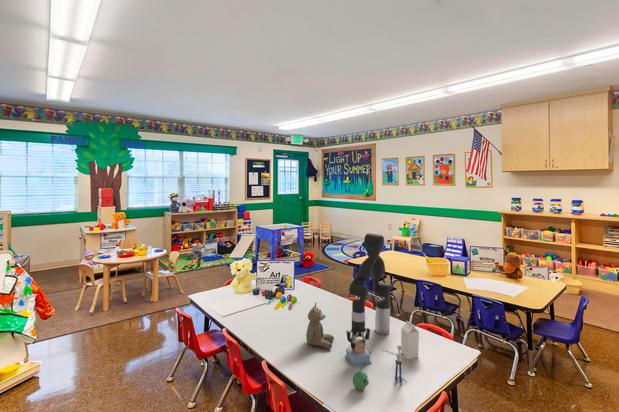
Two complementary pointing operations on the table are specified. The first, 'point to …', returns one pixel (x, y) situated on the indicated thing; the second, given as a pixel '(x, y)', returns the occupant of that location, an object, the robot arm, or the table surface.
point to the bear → (317, 330)
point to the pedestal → (357, 357)
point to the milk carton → (409, 341)
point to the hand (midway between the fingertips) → (358, 347)
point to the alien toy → (360, 379)
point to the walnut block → (359, 346)
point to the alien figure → (398, 363)
